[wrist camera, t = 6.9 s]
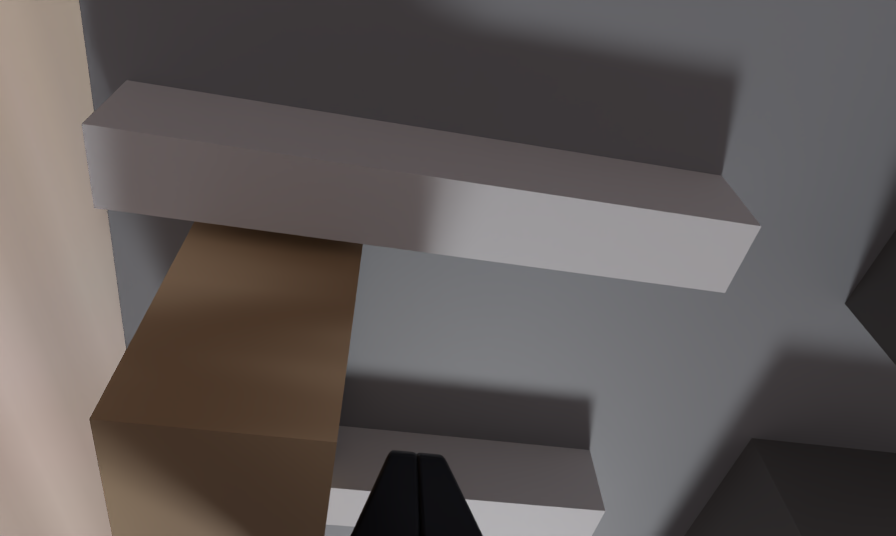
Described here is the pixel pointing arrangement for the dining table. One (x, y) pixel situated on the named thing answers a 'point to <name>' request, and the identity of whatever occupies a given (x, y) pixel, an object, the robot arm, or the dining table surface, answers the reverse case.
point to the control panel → (550, 237)
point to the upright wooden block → (231, 389)
